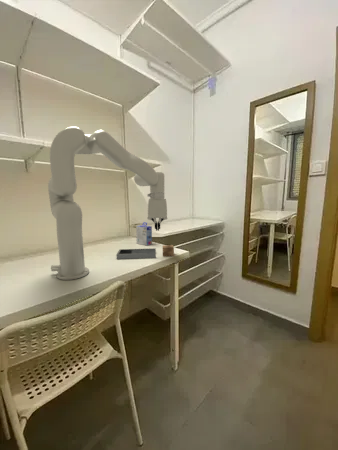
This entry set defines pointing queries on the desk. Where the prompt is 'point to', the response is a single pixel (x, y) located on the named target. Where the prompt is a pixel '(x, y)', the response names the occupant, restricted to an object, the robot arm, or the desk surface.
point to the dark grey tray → (136, 253)
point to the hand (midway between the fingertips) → (157, 230)
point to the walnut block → (168, 250)
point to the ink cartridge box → (144, 234)
